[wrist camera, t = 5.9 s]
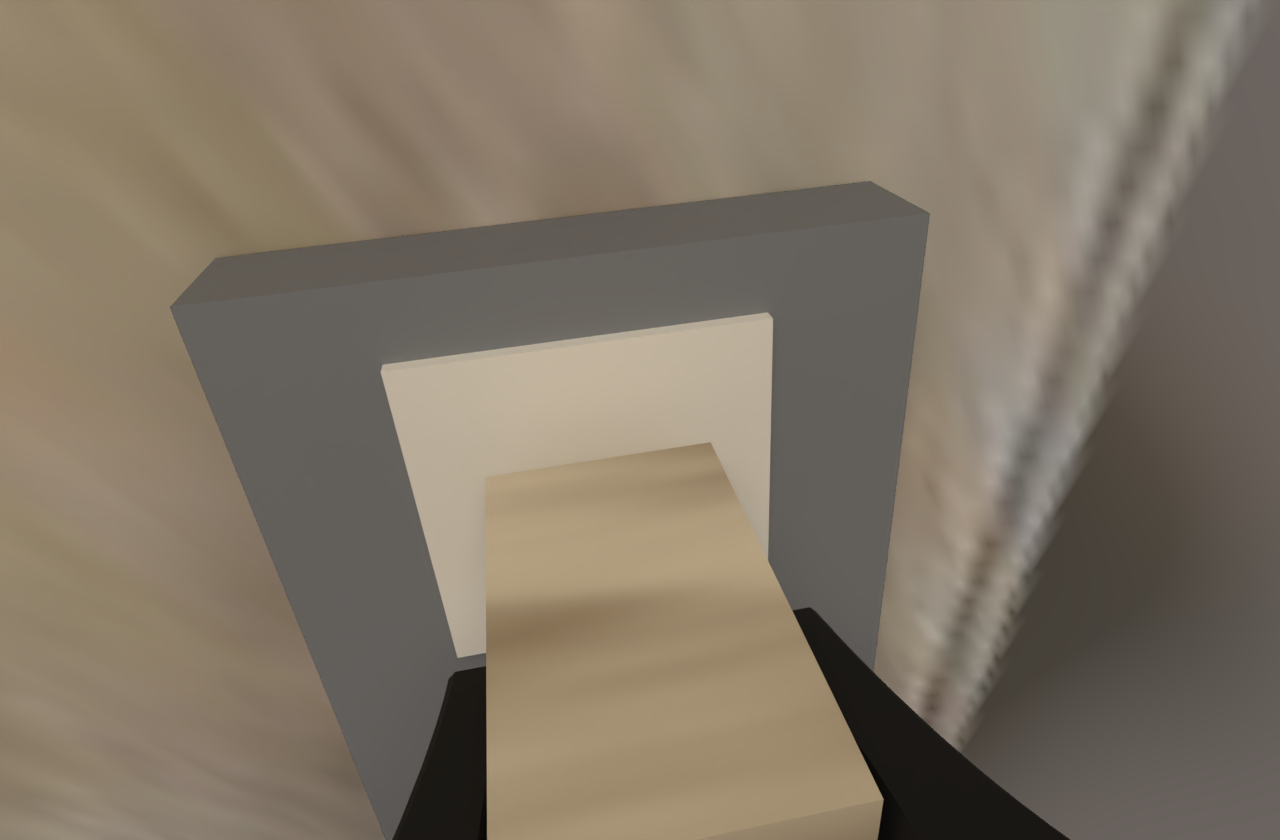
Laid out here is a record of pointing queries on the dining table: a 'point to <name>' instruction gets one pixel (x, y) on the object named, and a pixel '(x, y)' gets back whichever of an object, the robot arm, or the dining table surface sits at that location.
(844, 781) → the peg
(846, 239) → the pocket plate
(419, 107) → the dining table surface
